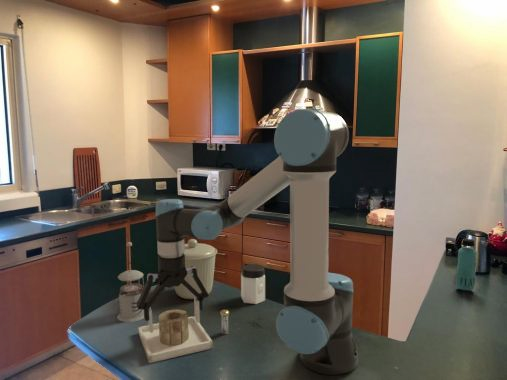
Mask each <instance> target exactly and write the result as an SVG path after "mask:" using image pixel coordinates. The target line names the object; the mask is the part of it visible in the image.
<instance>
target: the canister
mask: <svg viewBox="0 0 507 380" xmlns="http://www.w3.org/2000/svg"><path fill="white" fill-rule="evenodd" d="M184 244H185V252H184V254H185V268H186V269H189V268H191V266H194V267H195V268H196V270H197V275H198V277H199V279H200V281H201V282H202V284H203V286H204V287H205V289H206V291H207V293H208V295H209V294H210V293H211V292H212V290H213V283H214V275H215V274H214V273H215V265H216V264H215V263H216V255H217V254H218V249H217V248H215V247H214V246H213V245H210V244H207V243H201V242H200V243H198V241H197V239H196V238H191V239H189V240H188V241H187V243H184ZM184 279H185V280H186V281H187V282H188V283H189V284H190V285H191V286H192V287H193V288H194V289H195V290H196V291H197V292H198V293H199V294H200V293H201V290H200V289H199V287H198V285H197V284H196V282H195V280H194V278H193V277H192V276H190V274H189V273H187V275H186V277H185V278H184ZM173 287H174V291H175V293H176V295H177V296H179V297H180V298H181V299H182V298H183V299H186V300H194V298H197V297H196V296H195V295H194V294H192V293H191V292H190V291H189V290H188V289H187V288H186V287H185V286H184V285H183V284H182V283H181V284H180V285H179V286H173Z"/></svg>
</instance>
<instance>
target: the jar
mask: <svg viewBox="0 0 507 380" xmlns="http://www.w3.org/2000/svg"><path fill="white" fill-rule="evenodd" d="M240 288H241V289H240V297H241V300H242V301H243V303H244V304H252V305H258V304H259V303H263V302H265V301H266V275H265V266H263V265H261V264H259V263H258V264H257V263H256V264H255V263H249V264H245V265H243V266H242V267H241V273H240Z"/></svg>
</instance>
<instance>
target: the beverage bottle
mask: <svg viewBox="0 0 507 380" xmlns="http://www.w3.org/2000/svg"><path fill="white" fill-rule="evenodd" d="M461 245H462V247H461V248H459V249H458V250H457V252H458V254H457V268H456V278H455V281H456V282H455V286H456V288H457V289H460V290H464V291H472V290H474V289H475V286H476V285H475V284H476V271H477V270H476V269H477V263H478V262H477V260H478V259H477V254H478V252H477V251H476V250H475V249H474V248H473V247H474V246H475V240H474V239H471V238H462V242H461Z"/></svg>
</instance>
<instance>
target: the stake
mask: <svg viewBox="0 0 507 380" xmlns="http://www.w3.org/2000/svg"><path fill="white" fill-rule="evenodd" d="M219 311H220V312H219V313H220V314H219V315H220V316H221V321H220V322H221V334H222V335H228V334H229V315H230V311H229V310H228V309H222V310H219Z"/></svg>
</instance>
